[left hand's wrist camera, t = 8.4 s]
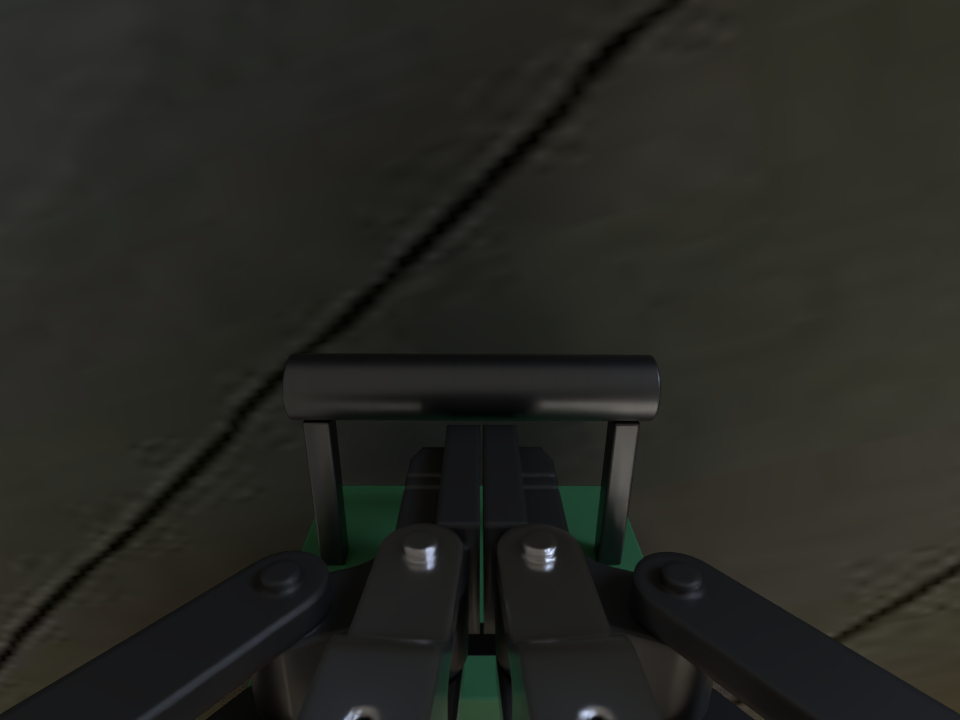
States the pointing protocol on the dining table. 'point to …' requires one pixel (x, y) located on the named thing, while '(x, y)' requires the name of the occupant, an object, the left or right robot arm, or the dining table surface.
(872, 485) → the dining table surface
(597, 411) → the drawer
